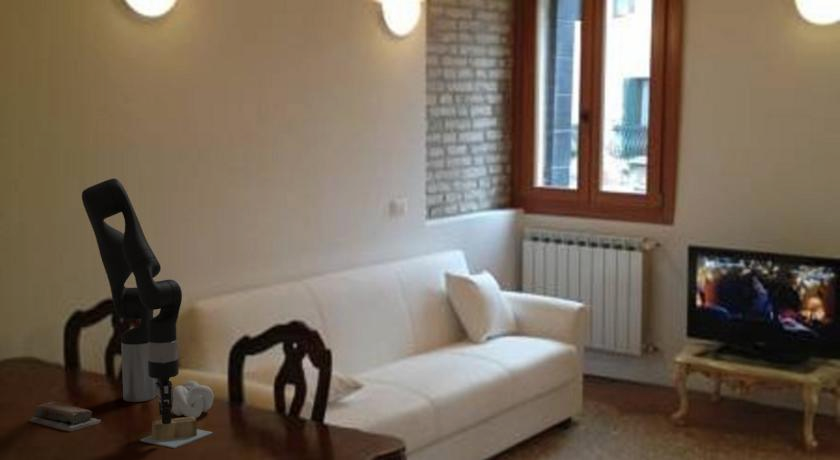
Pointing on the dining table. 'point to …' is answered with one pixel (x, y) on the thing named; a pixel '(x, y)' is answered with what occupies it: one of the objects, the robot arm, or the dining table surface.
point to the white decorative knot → (191, 399)
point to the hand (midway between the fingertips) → (165, 419)
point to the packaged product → (63, 416)
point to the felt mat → (177, 439)
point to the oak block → (174, 428)
